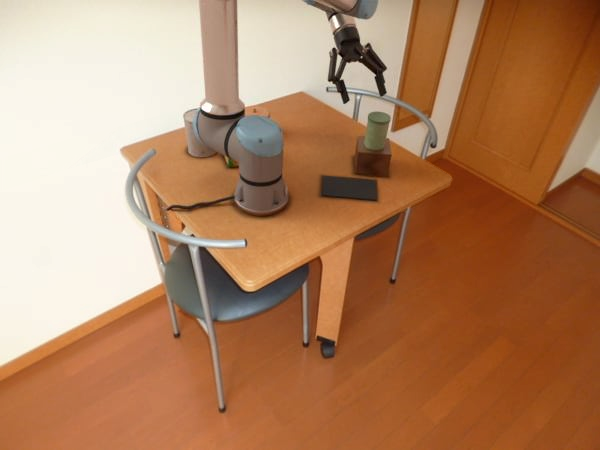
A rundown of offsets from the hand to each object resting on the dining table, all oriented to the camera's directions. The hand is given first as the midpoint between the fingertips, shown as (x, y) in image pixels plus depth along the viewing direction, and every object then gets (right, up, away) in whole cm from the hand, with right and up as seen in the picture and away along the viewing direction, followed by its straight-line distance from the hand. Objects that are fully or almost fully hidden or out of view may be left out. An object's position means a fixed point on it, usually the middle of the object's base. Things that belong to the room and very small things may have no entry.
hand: (365, 98), depth 127 cm
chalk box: (-39, -17, +8) cm, 44 cm away
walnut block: (+3, -20, +8) cm, 21 cm away
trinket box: (-36, -6, +21) cm, 42 cm away
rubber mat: (-5, -27, -2) cm, 28 cm away
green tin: (+3, -14, +2) cm, 14 cm away
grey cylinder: (-52, -14, +11) cm, 55 cm away
